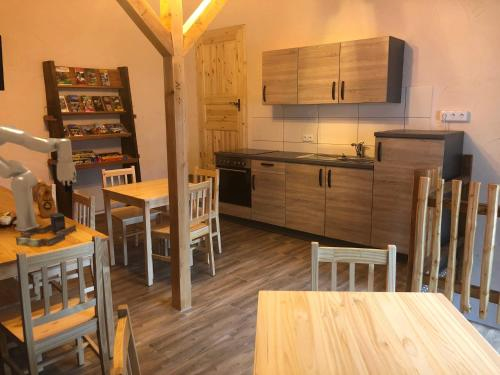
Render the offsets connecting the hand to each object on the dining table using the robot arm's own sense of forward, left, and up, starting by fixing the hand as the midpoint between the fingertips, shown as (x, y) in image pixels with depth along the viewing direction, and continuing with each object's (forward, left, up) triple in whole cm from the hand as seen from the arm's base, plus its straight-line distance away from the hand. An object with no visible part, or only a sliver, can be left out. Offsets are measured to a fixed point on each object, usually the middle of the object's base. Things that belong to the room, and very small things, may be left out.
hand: (68, 191), depth 243 cm
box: (0, -11, -21) cm, 24 cm away
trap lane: (0, -19, -21) cm, 28 cm away
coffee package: (-32, +16, -21) cm, 42 cm away
